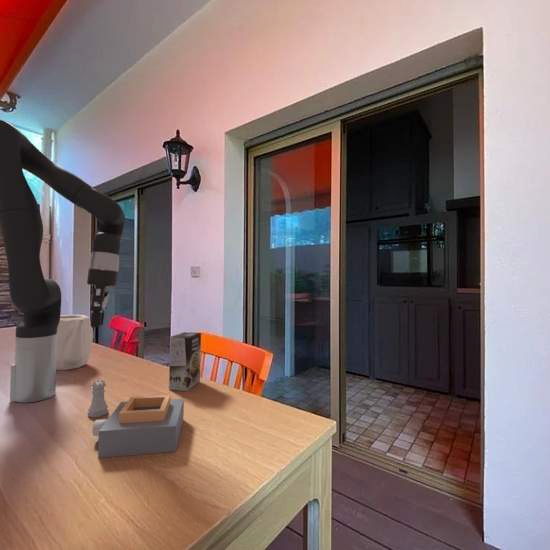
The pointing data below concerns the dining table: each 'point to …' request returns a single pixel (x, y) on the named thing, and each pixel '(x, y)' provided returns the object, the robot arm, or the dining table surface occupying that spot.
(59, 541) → the dining table surface
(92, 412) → the rook chess piece
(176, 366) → the coffee box
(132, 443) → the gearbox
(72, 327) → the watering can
